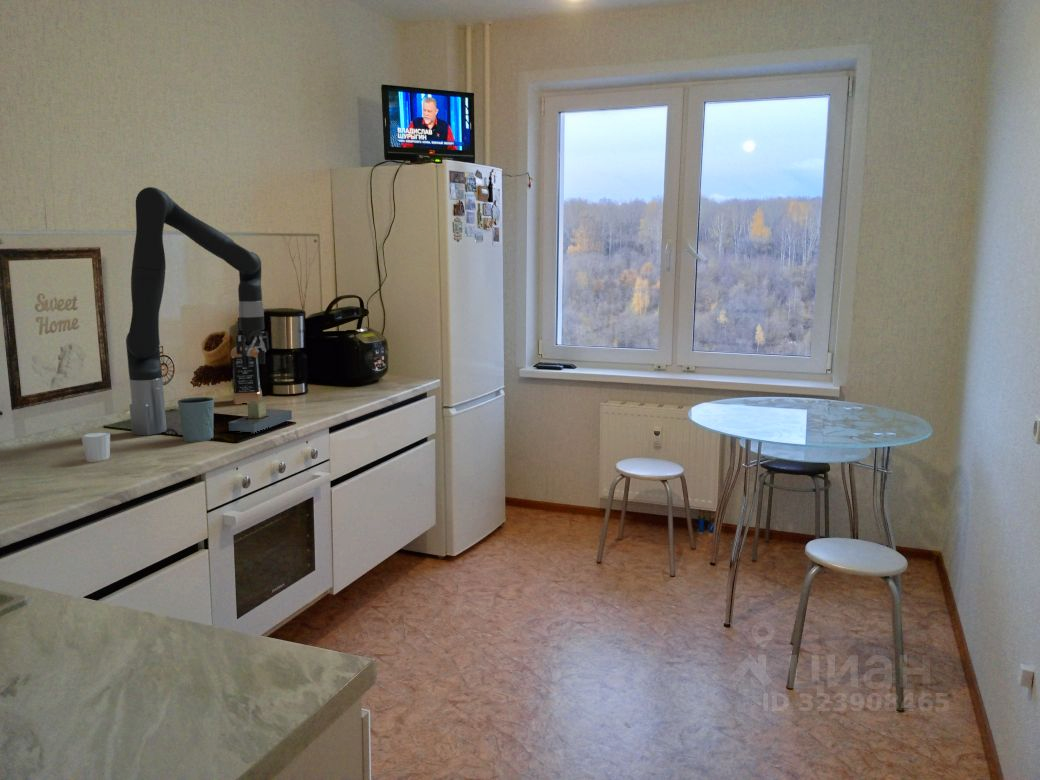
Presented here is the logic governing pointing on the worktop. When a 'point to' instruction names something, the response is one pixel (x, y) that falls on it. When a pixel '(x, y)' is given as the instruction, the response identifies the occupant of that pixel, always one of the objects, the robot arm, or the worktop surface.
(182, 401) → the blue-green cup
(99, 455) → the white short cylinder
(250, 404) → the pale green tall block
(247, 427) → the rail plate
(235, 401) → the whiskey bottle
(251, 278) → the robot arm
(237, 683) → the worktop surface
